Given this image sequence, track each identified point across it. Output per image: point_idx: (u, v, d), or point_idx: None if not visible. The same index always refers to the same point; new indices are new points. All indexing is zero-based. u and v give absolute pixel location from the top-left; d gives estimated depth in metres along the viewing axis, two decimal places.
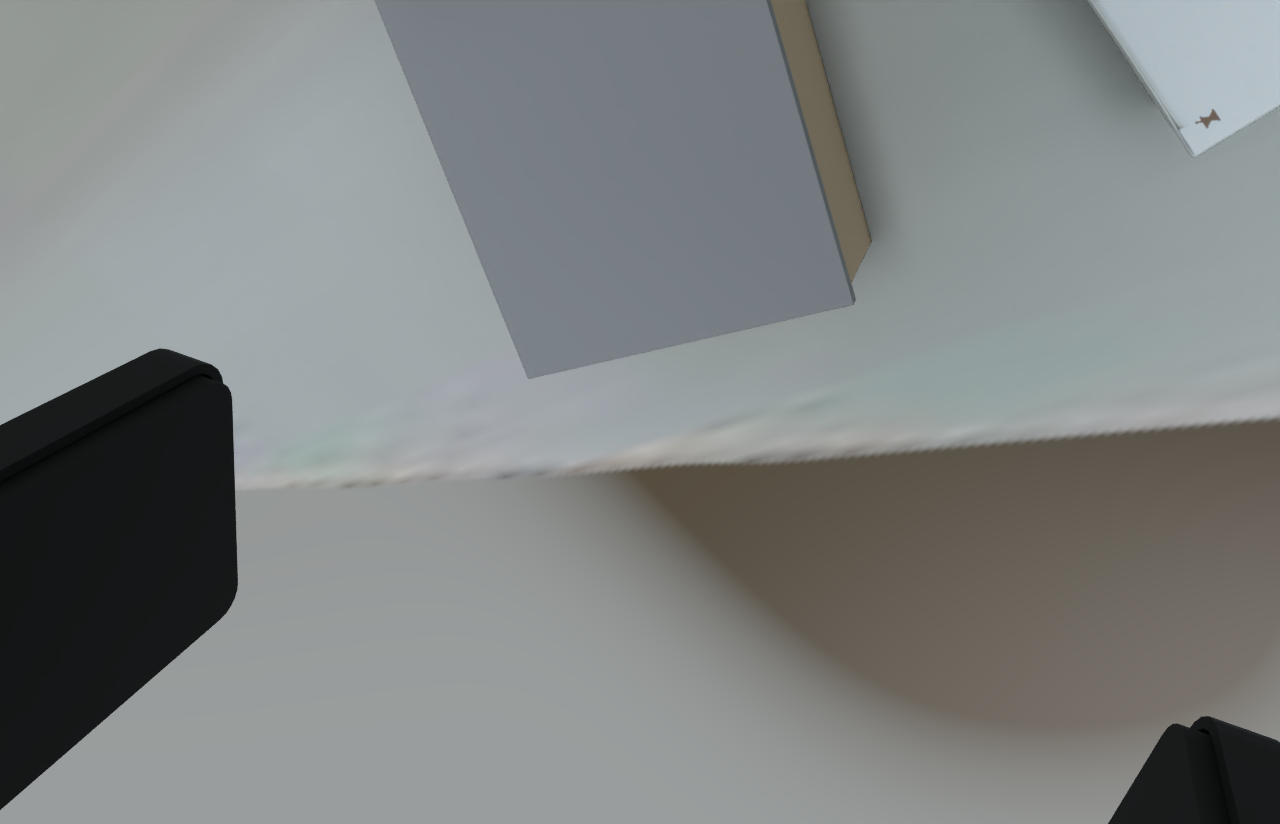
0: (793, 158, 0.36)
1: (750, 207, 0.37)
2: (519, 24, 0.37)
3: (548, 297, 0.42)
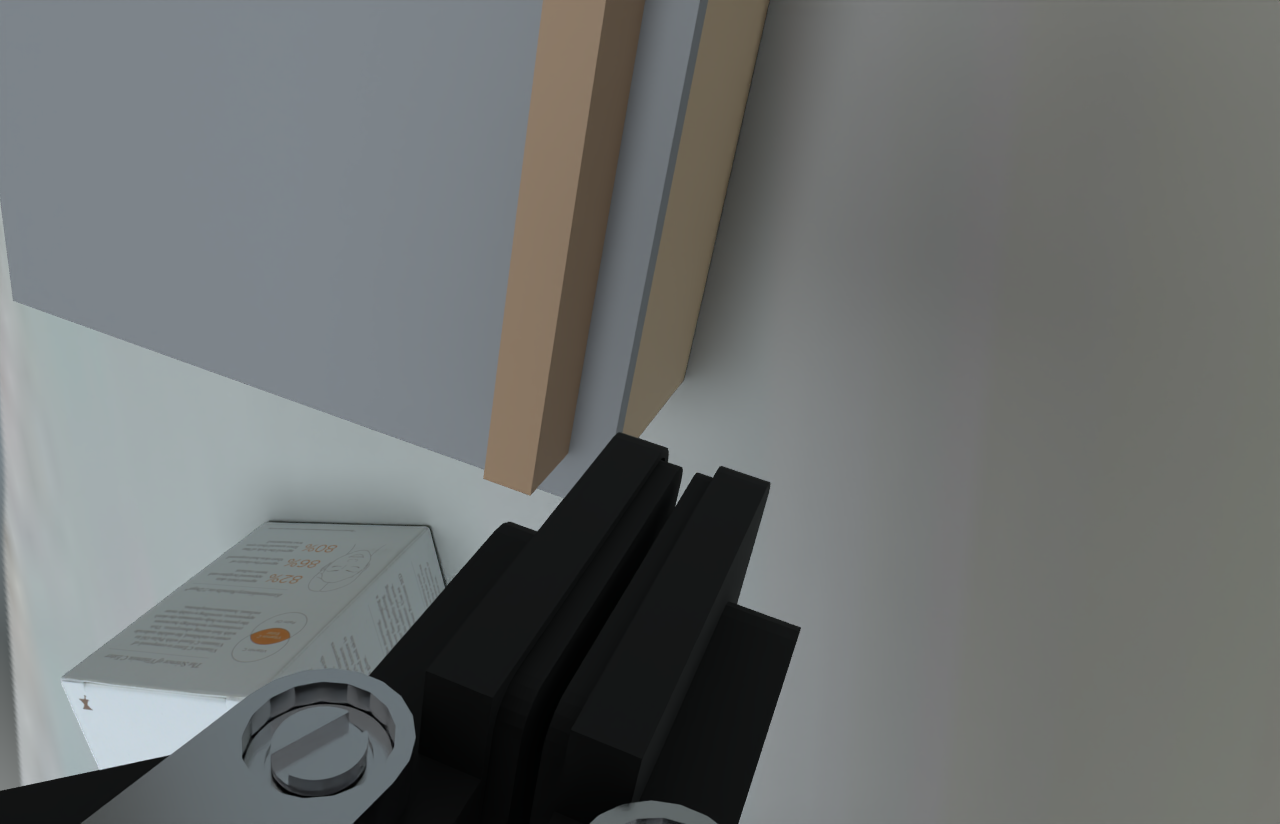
0: (178, 340, 0.28)
1: (136, 257, 0.27)
2: (452, 95, 0.22)
3: None
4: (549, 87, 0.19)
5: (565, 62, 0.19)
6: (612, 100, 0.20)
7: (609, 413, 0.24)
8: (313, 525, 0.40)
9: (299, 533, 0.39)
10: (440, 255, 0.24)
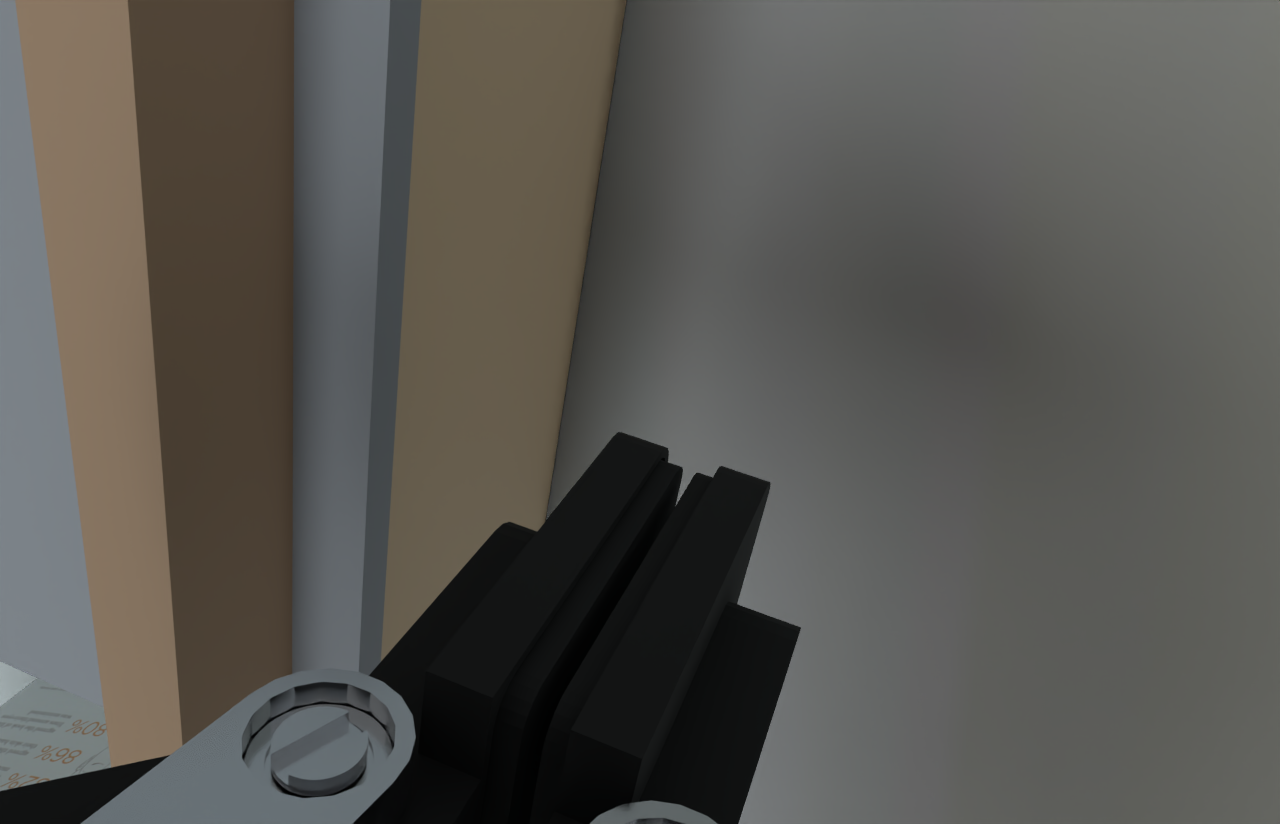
0: None
1: None
2: (15, 174, 0.12)
3: None
4: (67, 187, 0.09)
5: (84, 140, 0.09)
6: (234, 201, 0.10)
7: None
8: None
9: (73, 698, 0.30)
10: (54, 429, 0.14)
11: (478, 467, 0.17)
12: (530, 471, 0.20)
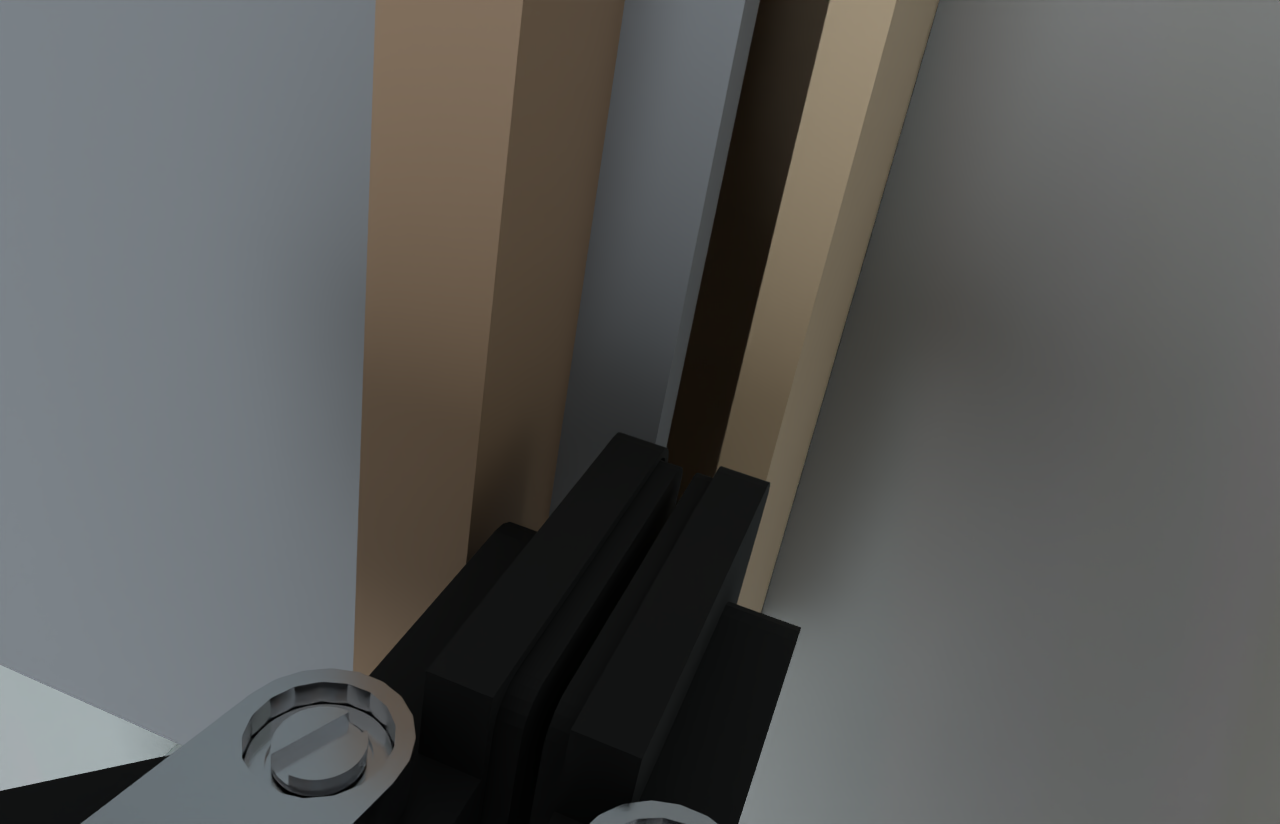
0: None
1: None
2: (258, 258, 0.12)
3: None
4: (401, 298, 0.09)
5: (430, 250, 0.08)
6: (546, 301, 0.10)
7: None
8: None
9: None
10: (269, 515, 0.14)
11: (760, 568, 0.16)
12: (773, 557, 0.19)
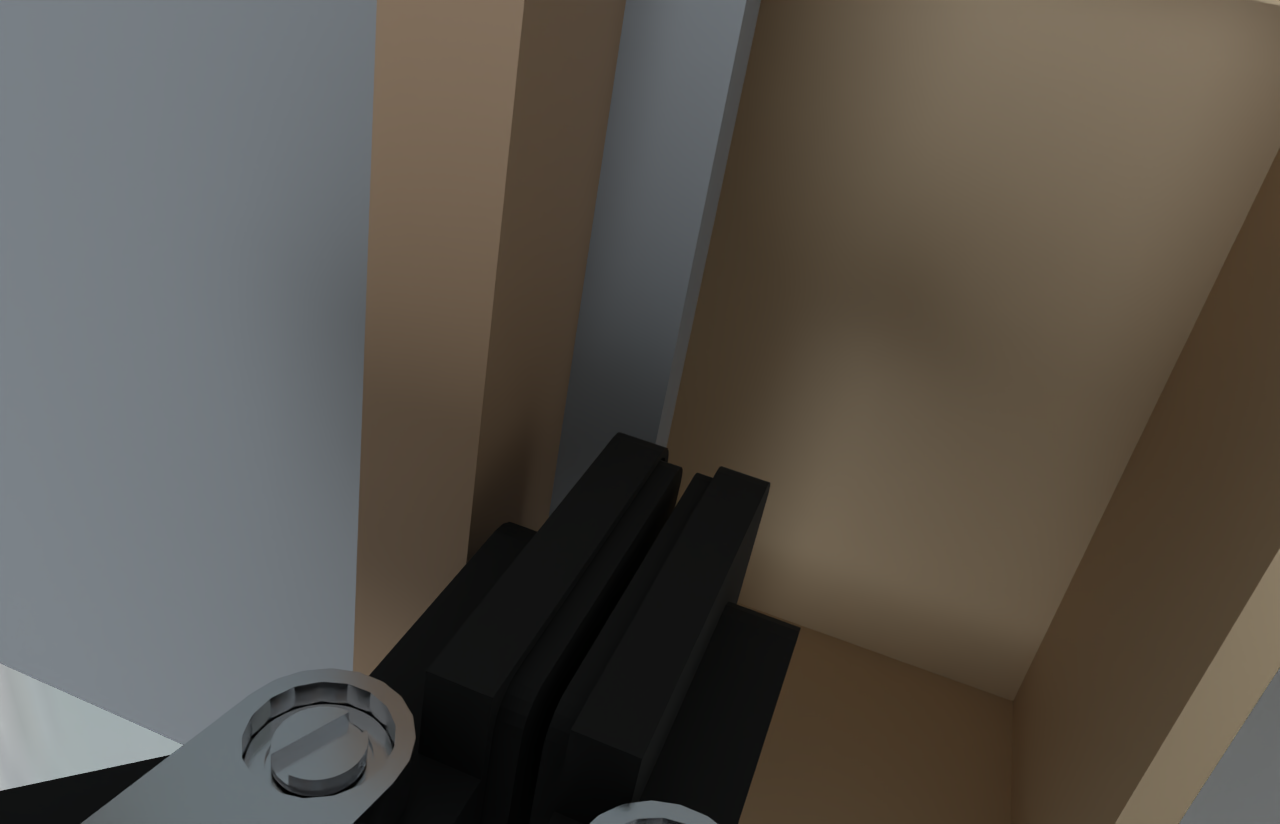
0: None
1: None
2: (259, 257, 0.12)
3: None
4: (402, 298, 0.09)
5: (431, 250, 0.08)
6: (546, 301, 0.10)
7: None
8: None
9: None
10: (268, 514, 0.14)
11: None
12: None
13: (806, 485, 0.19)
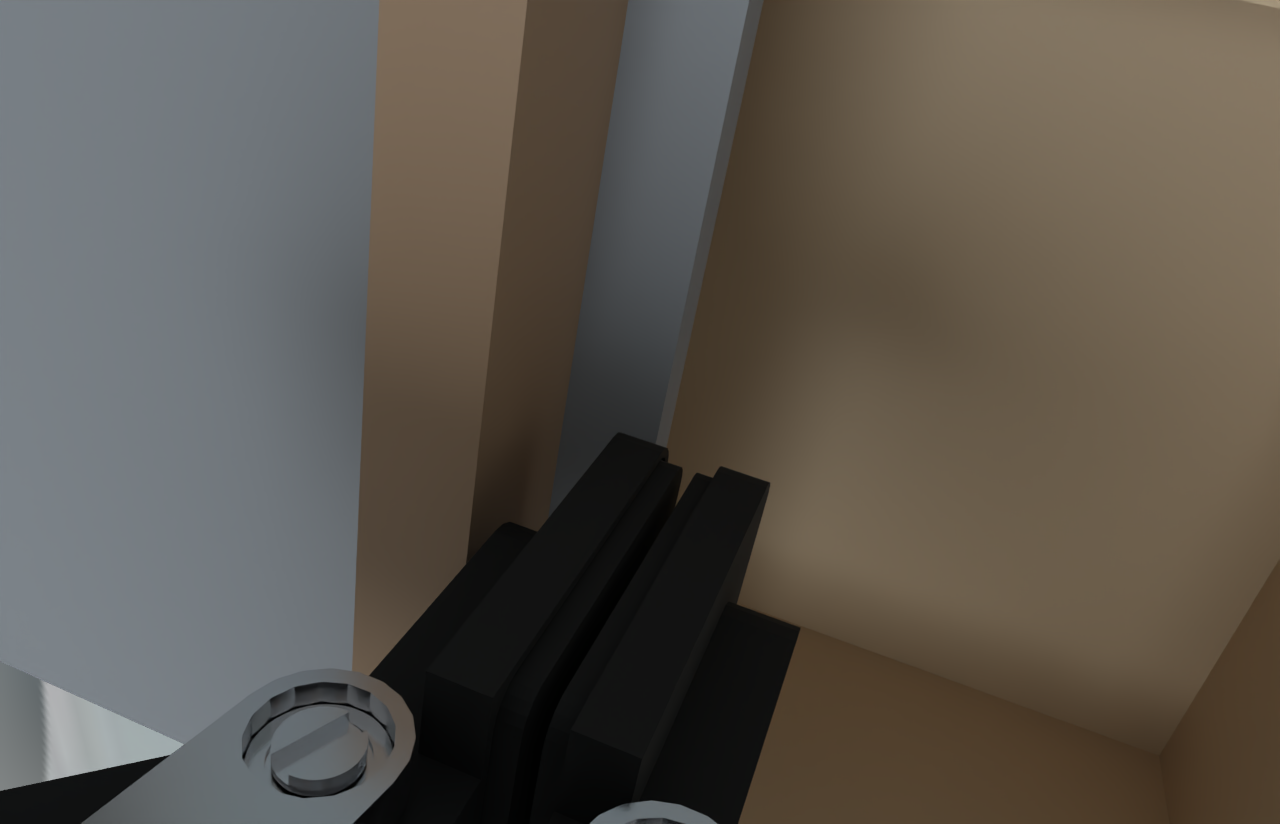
0: None
1: None
2: (259, 255, 0.12)
3: None
4: (403, 297, 0.09)
5: (432, 249, 0.08)
6: (548, 299, 0.10)
7: None
8: None
9: None
10: (268, 512, 0.14)
11: None
12: None
13: (951, 534, 0.18)
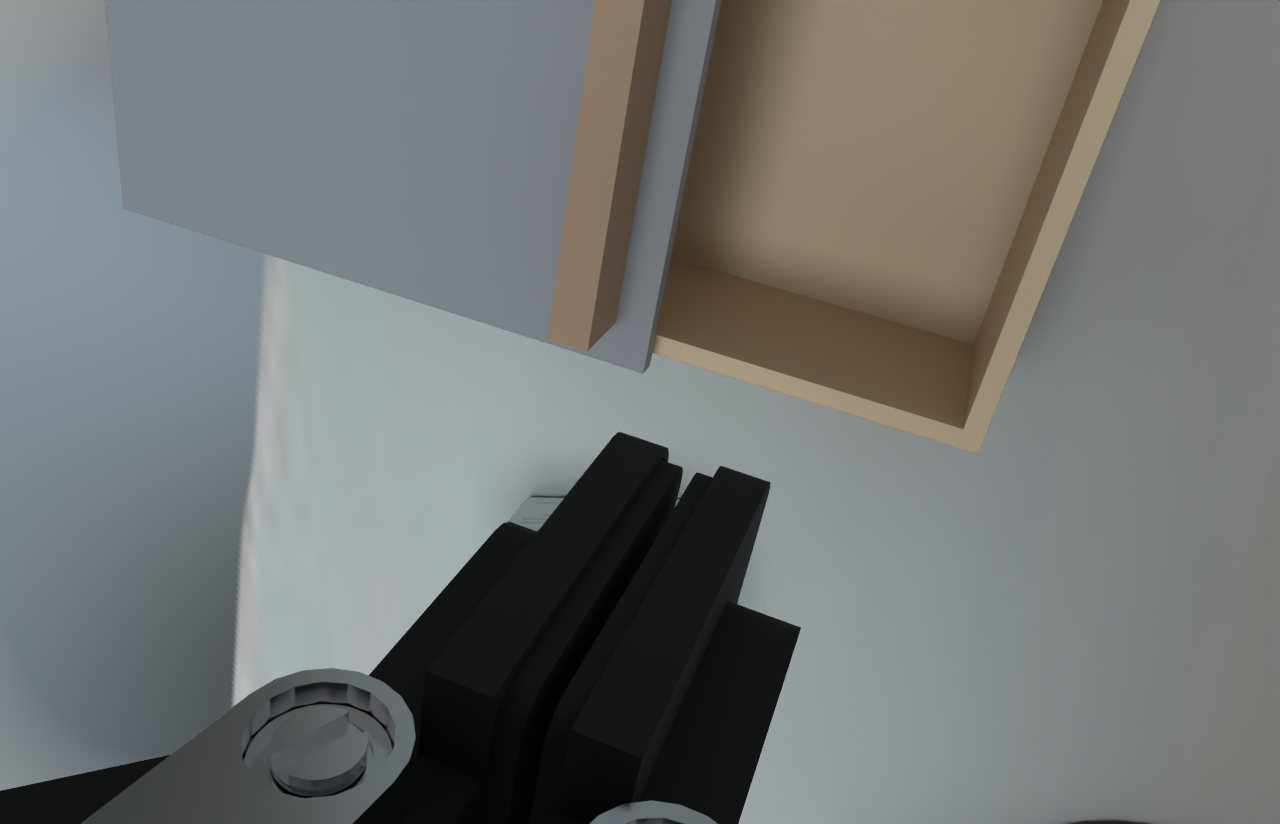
0: (273, 237, 0.32)
1: (237, 164, 0.31)
2: (519, 11, 0.26)
3: None
4: None
5: None
6: (658, 8, 0.24)
7: (651, 285, 0.28)
8: None
9: None
10: (507, 151, 0.28)
11: None
12: None
13: (854, 215, 0.33)
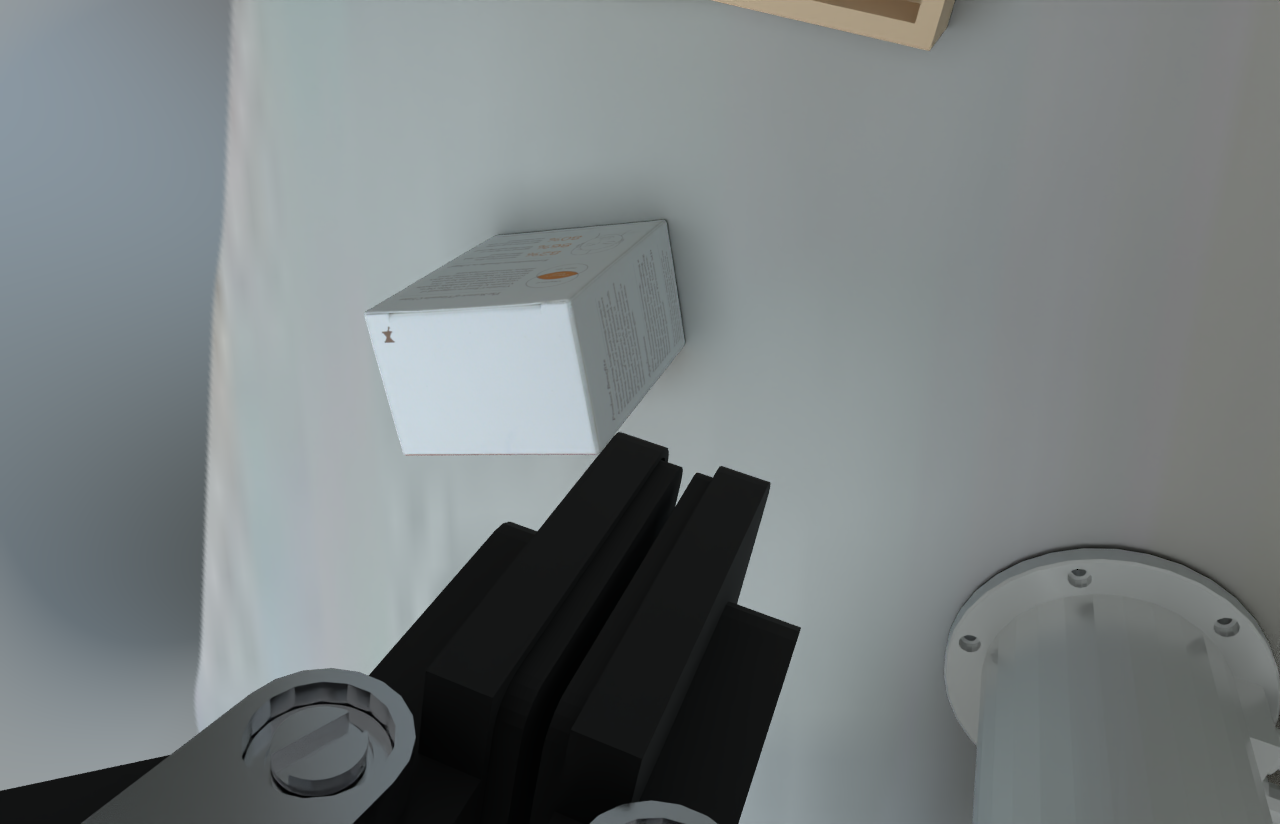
0: None
1: None
2: None
3: None
4: None
5: None
6: None
7: None
8: (546, 231, 0.42)
9: (536, 235, 0.41)
10: None
11: None
12: None
13: None
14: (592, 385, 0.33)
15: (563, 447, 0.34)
